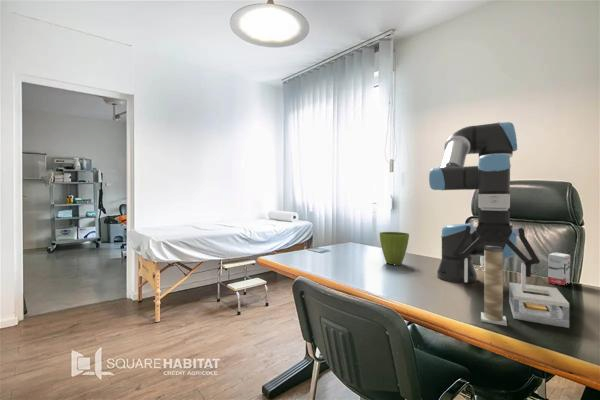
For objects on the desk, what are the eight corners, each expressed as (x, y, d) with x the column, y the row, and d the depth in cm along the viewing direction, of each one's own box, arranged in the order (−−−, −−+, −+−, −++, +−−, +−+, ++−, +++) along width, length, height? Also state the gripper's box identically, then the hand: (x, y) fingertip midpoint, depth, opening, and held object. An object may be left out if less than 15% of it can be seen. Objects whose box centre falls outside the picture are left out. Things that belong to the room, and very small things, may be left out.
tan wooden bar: (484, 318, 84) (484, 247, 84) (484, 313, 88) (484, 245, 87) (503, 322, 81) (503, 248, 81) (502, 316, 85) (502, 246, 85)
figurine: (469, 267, 148) (469, 243, 148) (478, 265, 152) (478, 242, 152) (488, 271, 140) (488, 246, 140) (497, 269, 145) (497, 244, 145)
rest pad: (480, 321, 84) (480, 319, 84) (480, 314, 89) (480, 312, 89) (507, 325, 80) (507, 323, 80) (505, 318, 86) (505, 316, 86)
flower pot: (388, 259, 167) (388, 231, 167) (414, 263, 156) (414, 233, 156) (373, 263, 157) (373, 233, 157) (400, 268, 146) (400, 235, 146)
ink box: (563, 286, 116) (563, 256, 116) (547, 283, 121) (547, 254, 121) (570, 283, 121) (570, 253, 121) (555, 280, 125) (555, 252, 125)
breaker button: (527, 314, 88) (527, 306, 88) (525, 309, 92) (525, 301, 92) (547, 317, 86) (547, 309, 86) (544, 312, 90) (544, 304, 90)
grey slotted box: (513, 318, 85) (513, 295, 85) (509, 301, 99) (509, 282, 99) (569, 328, 79) (569, 303, 79) (556, 308, 93) (556, 287, 93)
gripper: (443, 209, 88) (443, 281, 88) (553, 210, 75) (553, 295, 75) (446, 208, 94) (445, 275, 94) (547, 209, 81) (547, 288, 81)
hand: (493, 284), depth 84 cm, fingers open, 13 cm apart
